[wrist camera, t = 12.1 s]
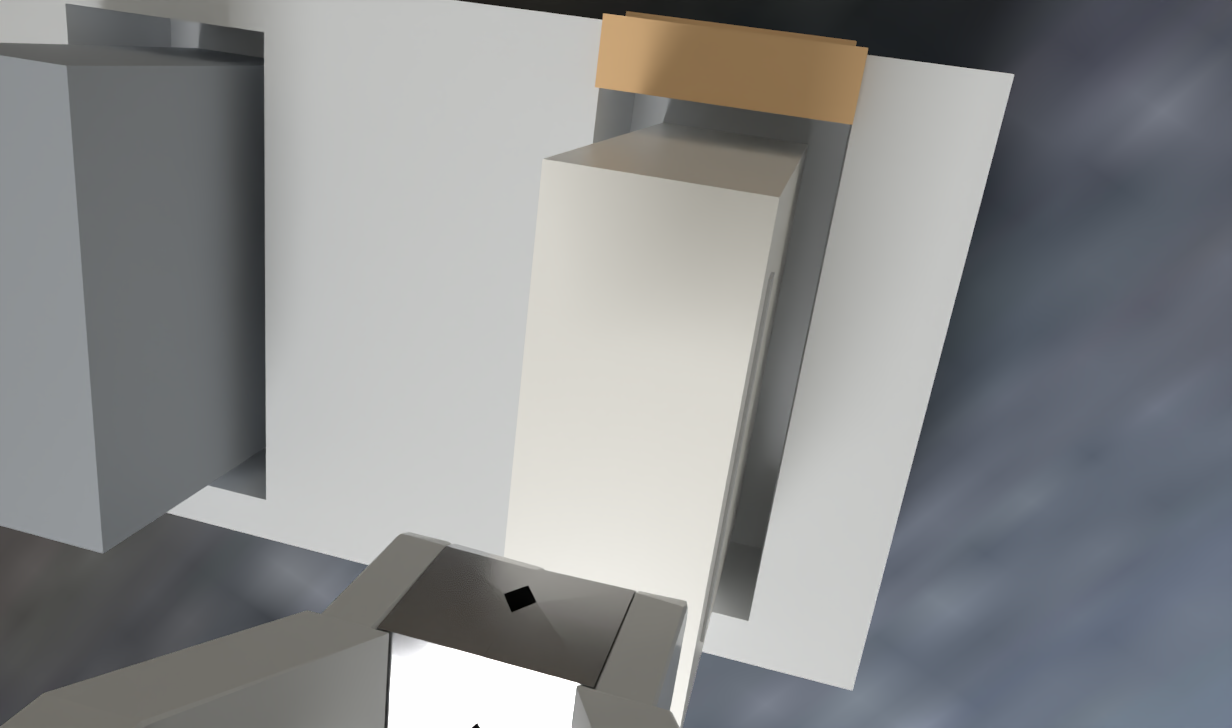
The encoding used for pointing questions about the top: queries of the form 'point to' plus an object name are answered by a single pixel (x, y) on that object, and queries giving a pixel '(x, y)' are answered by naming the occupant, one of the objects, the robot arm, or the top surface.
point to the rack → (444, 274)
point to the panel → (648, 359)
